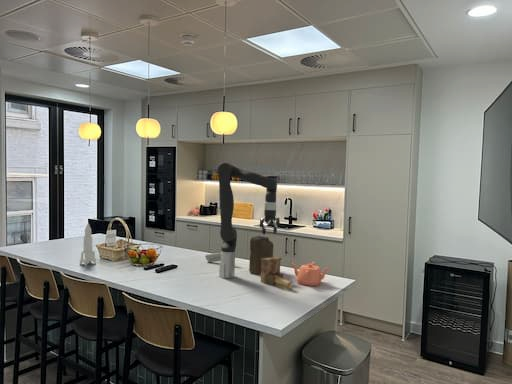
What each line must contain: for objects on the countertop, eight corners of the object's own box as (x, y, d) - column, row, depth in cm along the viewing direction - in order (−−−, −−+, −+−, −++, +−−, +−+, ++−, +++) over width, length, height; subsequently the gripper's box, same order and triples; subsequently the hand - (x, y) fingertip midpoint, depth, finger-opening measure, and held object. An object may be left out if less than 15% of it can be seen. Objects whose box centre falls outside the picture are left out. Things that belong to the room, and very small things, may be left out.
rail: (287, 290, 222) (287, 282, 222) (270, 283, 236) (270, 275, 236) (291, 289, 224) (292, 281, 224) (275, 282, 238) (275, 274, 238)
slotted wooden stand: (269, 286, 230) (270, 262, 229) (259, 281, 238) (260, 258, 237) (285, 283, 237) (286, 259, 236) (275, 279, 246) (276, 256, 245)
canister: (257, 275, 253) (258, 238, 251) (247, 273, 258) (248, 237, 256) (273, 270, 267) (274, 235, 266) (264, 268, 273) (265, 234, 271)
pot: (314, 278, 251) (315, 259, 250) (329, 285, 235) (329, 266, 234) (290, 280, 244) (290, 261, 243) (303, 288, 228) (304, 268, 227)
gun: (235, 265, 274) (233, 251, 274) (206, 268, 284) (204, 255, 284) (237, 264, 276) (235, 250, 277) (208, 267, 286) (206, 254, 287)
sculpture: (96, 263, 269) (96, 222, 267) (85, 266, 262) (85, 223, 260) (90, 262, 272) (90, 221, 271) (79, 264, 265) (79, 222, 264)
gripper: (264, 209, 234) (263, 235, 235) (282, 209, 242) (281, 234, 243) (258, 208, 240) (257, 233, 241) (275, 208, 248) (274, 232, 249)
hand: (269, 233), depth 242 cm, fingers open, 8 cm apart
